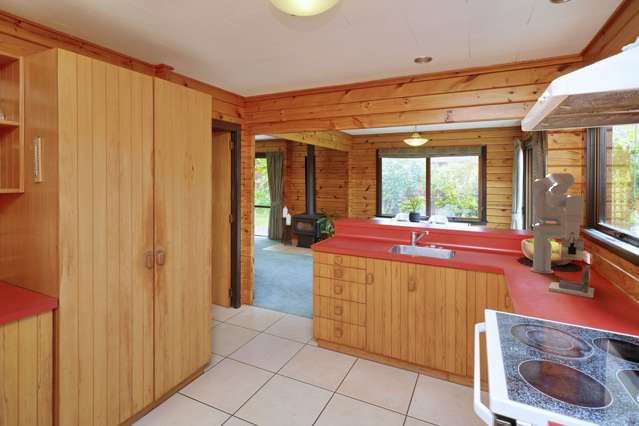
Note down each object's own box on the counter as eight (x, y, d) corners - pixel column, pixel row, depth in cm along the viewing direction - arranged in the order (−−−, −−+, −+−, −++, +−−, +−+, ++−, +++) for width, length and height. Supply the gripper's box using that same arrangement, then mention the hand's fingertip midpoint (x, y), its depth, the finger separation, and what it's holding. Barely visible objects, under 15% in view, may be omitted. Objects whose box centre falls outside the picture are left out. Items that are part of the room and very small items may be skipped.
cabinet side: (581, 286, 174) (582, 264, 173) (588, 287, 172) (589, 265, 171) (579, 292, 165) (580, 268, 164) (587, 293, 163) (588, 269, 162)
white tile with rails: (551, 284, 183) (552, 277, 183) (593, 291, 171) (594, 283, 171) (548, 290, 173) (548, 282, 172) (592, 297, 161) (593, 289, 160)
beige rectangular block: (561, 257, 175) (562, 236, 175) (583, 259, 169) (584, 238, 169) (560, 258, 173) (561, 237, 172) (582, 260, 167) (583, 239, 166)
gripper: (566, 217, 179) (564, 251, 180) (563, 219, 166) (561, 255, 168) (584, 218, 174) (582, 252, 175) (582, 220, 161) (580, 257, 163)
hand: (572, 253), depth 171 cm, fingers closed on beige rectangular block, 3 cm apart
